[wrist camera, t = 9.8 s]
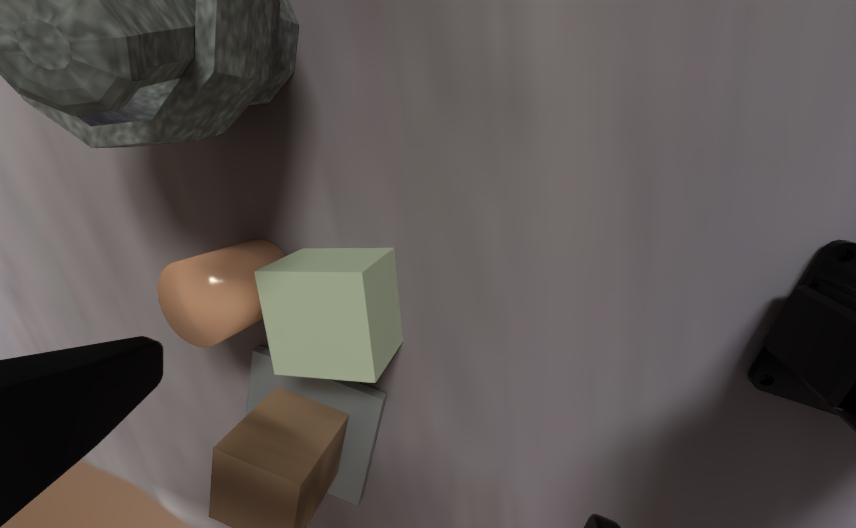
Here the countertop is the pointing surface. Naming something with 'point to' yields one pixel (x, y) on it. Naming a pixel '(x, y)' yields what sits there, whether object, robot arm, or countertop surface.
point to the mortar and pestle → (146, 64)
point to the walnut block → (277, 463)
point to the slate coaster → (338, 395)
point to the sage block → (331, 312)
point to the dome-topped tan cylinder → (215, 291)
